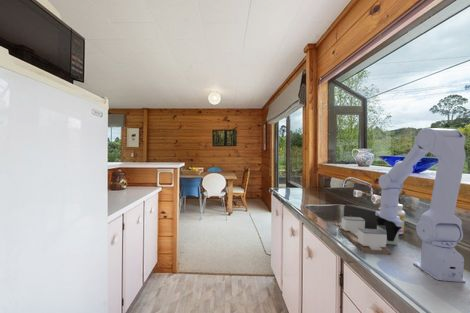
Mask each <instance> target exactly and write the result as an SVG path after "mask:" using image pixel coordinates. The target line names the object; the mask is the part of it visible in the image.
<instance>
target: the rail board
mask: <svg viewBox="0 0 470 313" xmlns="http://www.w3.org/2000/svg"><path fill="white" fill-rule="evenodd" d="M339 230H340V231H341V232H342V233H341V232H340V231H339ZM338 231H339V232H340V233H341V234H342V235H343V236H345V237H346V238H347V239H348V240H349V241H350V242H352V243H353V244H354V246H356V247H357V248H358V249H359V250H360V251H362V252H363V253H367V254H368V253H370V254H379V255H380V254H381V255H390V252H391V250H390V249H388V248H387V247H376V246H363V245H362V244H361V243H359V242H358V231H345V230H344V229H343V228H342V227H340V226H339V227H338Z"/></svg>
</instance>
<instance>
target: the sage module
mask: <svg viewBox="0 0 470 313" xmlns="http://www.w3.org/2000/svg"><path fill="white" fill-rule="evenodd" d="M377 229H380V230H382V231H384V232H385V233H387V231H386V227H385V225H377ZM399 235H400V234H399V231H398V233H397V234H396V237H395V239H394V241H388V240H386V245H397V246H398V244H399Z"/></svg>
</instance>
